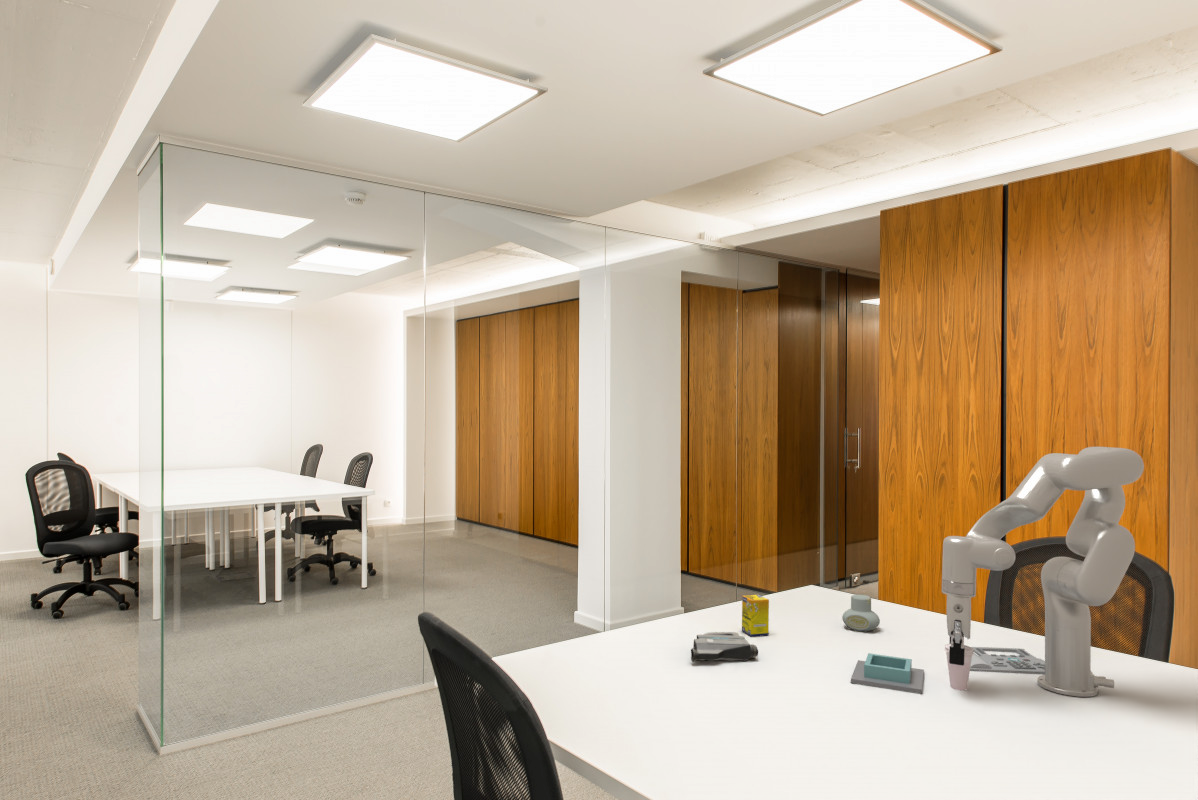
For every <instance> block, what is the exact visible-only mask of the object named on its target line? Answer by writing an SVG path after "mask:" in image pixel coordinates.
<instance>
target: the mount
mask: <svg viewBox="0 0 1198 800" xmlns="http://www.w3.org/2000/svg"><path fill="white" fill-rule="evenodd" d="M865 658H866V659H865V660H857V662H856V664H855V667H854V669H853V672H852V675H851V678H850V684H857V685H862V686H863V685H864V686H868V687H869V686H870V687H875V688H882V689H888V690H894V691H902V692H907V693H915V694H920V695H922V694H923V685H924V684H923V683H924V675H925V669H922V668H915V667H913V666H912V661H913V660H912V659H911V658H905V657H897V656H889V655H884V654H877V653H868V654H867V655H866V657H865Z"/></svg>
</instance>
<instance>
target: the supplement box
mask: <svg viewBox="0 0 1198 800" xmlns="http://www.w3.org/2000/svg"><path fill="white" fill-rule="evenodd" d="M741 597H742V599H741V600H742V601H741V616H742V617H741V632H742V633H744V634H746V635H748V636H749V637H750V638H755V637H767V636H769V620H770V618H769V616H770V615H769V613H770V611H769V610H770V609H769V607H770V599H768V598H765V597H764V596H762V595H761V594H751V595H750V594H749V595H748V594H747V595H746V594H745V595H741Z"/></svg>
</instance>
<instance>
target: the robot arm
mask: <svg viewBox="0 0 1198 800" xmlns="http://www.w3.org/2000/svg"><path fill="white" fill-rule="evenodd" d="M1144 470H1145V464H1144V460H1143V458H1142V457H1141V456H1140V454H1138V452H1136V451H1134V450H1132V449H1129V448H1125V447H1124V448H1123V447H1109V446H1088V447H1085V448H1083V449H1081V450H1079V452H1078V454H1073V453H1071V454H1069V453H1060V452H1058V453H1057V452H1055V453H1053V452H1052V453H1048V454H1045V455H1043V456H1042V457H1041V458H1040V459H1038V461H1037V462H1036V463H1035V465H1034V466H1033V467H1032V468H1031V470H1030V471H1029V472H1028V473H1027V475H1026V476H1025V477H1024V478H1023V480H1022V481H1021V482H1020V483H1019V485H1018V486H1017V487H1016V488H1015V490H1014V491H1013V492H1012V493H1011V495H1010V496H1009V497H1008V498H1006V499H1005V500H1003V501H1001V502H1000V503H998V504H997V505H996V506H994V507H993V508H991V509H990V510H988V511H987V512H985V513H984V514H983V515H982V516H981V517H980V518H979V519H978V520H977V521H976V522H975V523H974V525H973V526H972V527H971V528H970V530H969V531H968V532H967V534H966V536H960V535H948V536H947V537H945V538H944V539H943V541H942V542H943V544H942V564H941V565H942V566H941V567H942V568H941V569H942V571H941V574H942V575H941V593H942V594H944V595H946V624H947V625H946V627H947V628H946V629H947V635H948V636H949V642H948V644H951V646H950V651H949V663H950V664H955V665H962V666H963V665H964V652H965V648H964V645H965V638H966V639H967V640H970V639H971V626H972V624H971V623H972V622H971V621H972V598H976V593H977V570H978V569H984V570H990V571H994V572H995V571H996V572H998V571H999V572H1001V571H1005V570H1008V569H1010V568H1011V567H1012V566H1013V565H1014V563H1015V561H1016V552H1015V550H1014V548H1013V547H1012V546H1011V545H1010V544H1009V543H1007V542H1006V541H1004V540H1002V538H1003V537H1005V535H1007V534H1008V533H1010V532H1011V531H1013V530H1015V529H1017V528H1020V527H1021V526H1025V525H1030V524H1032V523H1033V524H1034V523H1035V522H1036V523H1037V522H1038V521H1040V520H1042V519H1044V518H1045V516H1046V515H1047V514H1048V512H1049V511H1050V510H1051V509H1052V507H1053V506H1054V505H1055V503H1056V502H1057V501H1058V499H1060V497H1061V496H1062V495H1063V494H1064V492H1065V491H1066V490H1070V491H1084V497H1083V500H1082V501H1081V504H1080V507H1079V508H1078V511H1077V512H1076V515H1075V516H1074V518H1073V520H1072V522H1071V524H1070V526H1069V528H1068V530H1067V533H1066V536H1065V544H1066V546H1067V549H1068V550H1070V551H1071V552H1072V553H1074V554H1076V555H1079V556H1081V557H1084V560H1080V559H1076V558H1072V557H1069V556H1054V557H1052V558H1050V559H1048V560H1047V561H1046V562H1045V563H1044V564H1043V566H1042V568H1041V572H1040V583H1041V588H1042V592H1043V593H1042V594H1043V598H1044V599H1043V600H1044V661H1045V675H1043V674H1041V675H1039V676H1038V677H1037V685H1039V686H1040V687H1041V688H1043V689H1045V690H1047V691H1050V692H1052V693H1057V694H1060V695H1065V696H1072V697H1081V698H1084V697H1085V698H1086V697H1087V698H1088V697H1095V696H1097V695H1098V694H1099V687H1104V688H1108V689H1115V681H1114V679H1111V678H1110V679H1109V678H1106V676H1100V675H1099V676H1098V675H1095V674H1093V672H1092V670H1091V658H1092V657H1091V656H1092V655H1091V653H1092V651H1091V645H1092V642H1091V641H1092V640H1091V638H1092V637H1091V636H1092V634H1091V633H1092V632H1091V631H1092V626H1091V625H1092V618H1091V611H1090V607H1100V606H1103V605H1104V604H1107V603H1108V602H1109V601H1110V600H1111V599H1112V598H1113V597H1114V595H1115V594H1116V592H1117V591H1118V589H1119V587H1120V584H1121V583H1122V581H1123V578H1124V577H1125V575H1126V573H1127V571H1128V569H1129V566H1130V565H1131V563H1132V561H1133V558H1134V556H1135V551H1136V542H1135V539H1134V536H1133V534H1132V533H1131V531H1129V529H1128V528H1126V527H1125V526H1123V525H1121V524H1119V522H1120V520H1121V517H1122V516H1123V514H1124V510H1125V508H1126V496H1125V492H1124V489H1123V486H1125V485H1130V484H1133V483H1134V482H1136V481H1138V480H1139V479H1140V478H1141V476H1142V475H1143V473H1144Z"/></svg>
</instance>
